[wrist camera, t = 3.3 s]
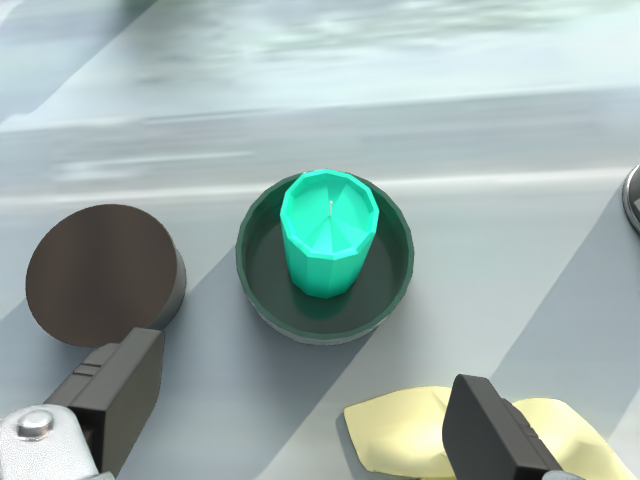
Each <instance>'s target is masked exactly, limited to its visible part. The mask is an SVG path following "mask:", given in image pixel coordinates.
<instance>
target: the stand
mask: <svg viewBox="0 0 640 480" xmlns="http://www.w3.org/2000/svg"><path fill="white" fill-rule="evenodd" d="M185 288H186V270H185V266H184V262H183V260H182V257H181V255H180V253H179V252H178V250H177V249H176V247H175V245H174V242H173V240H172V238H171V236H170V235H169V233H168V231H167V230H166V229H165V228H164V226H163V225H162V224H161V223H160V222H159V221H158V220H157V219H156V218H154V217H153V216H151V215H150V214H149V213H147V212H145V211H143V210H141V209H138V208H135V207H132V206H127V205H121V204H104V205H97V206H93V207H89V208H85V209H83V210H80V211H78V212H76V213H74V214H72V215H70V216H68V217H67V218H65V219H63V220H62V221H60V222H59V223H58V224H57V225H56V226H54V227H53V228H52V229H51V230H50V231H49V232H48V233H47V234H46V235H45V237H44V238H43V239H42V240H41V242H40V243H39V245H38V246H37V248H36V250H35V251H34V253H33V256H32V258H31V260H30V263H29V266H28V269H27V275H26V297H27V301H28V305H29V308H30V310H31V312H32V315H33V316H34V318H35V319H36V321H37V322H38V324H39V325H40V326H41V327H42V328H43V329H44V330H45V331H46V332H47V333H49V334H50V335H51V336H53V337H55V338H56V339H58V340H60V341H62V342H65V343H68V344H71V345H75V346H80V347H89V348H93V347H102V346H104V345H106V344H108V343H115V344H120V343H121V342H122V341H123V340H124V339H125V338H126V336H127V335H128V334H129V333H130V332H131V330H132V329H133V328H135V327H137V328H144V329H151V330H158V331H162V330H163V329H164V328H165V327H166V326H167V325H168V324H169V322H170V321H171V320H172V319H173V317H174V316H175V314H176V313H177V311H178V309H179V307H180V305H181V303H182V300H183V297H184V294H185Z"/></svg>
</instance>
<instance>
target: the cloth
mask: <svg viewBox="0 0 640 480" xmlns="http://www.w3.org/2000/svg"><path fill="white" fill-rule="evenodd" d="M451 390H452V388H446V387H418V388H410V389H405V390H400V391H395V392H392V393H389V394H386V395H383V396H380V397H377V398H374V399H371V400H368V401H365V402H362V403H359V404H356V405H353V406H350V407H347V408H345V409H344V416H345V420H346V423H347V426H348V430H349V433H350V437H351V439H352V442H353V444H354V447H355V449H356V452H357V454H358V457H359V460H360V462H361V463H362V464H363V466H364V467H365V468H366V469H367V470H368V471H371V472H374V471H377V472H382V473H387V474H391V475H398V476H404V477H414V478H420V479H419V480H457V478H456V476H455V474H454V471H453V469H452V466H451V464H450V462H449V459H448V457H447V454H446V452H445V449H444V447H443V443H442V424H443V420H444V416H445V413H446V409H447V405H448V402H449V398H450V394H451ZM512 405H513V406H515V407H516V408H517V409H518V410H520V411H521V413H522V414H523V415H524V417H525V418H526V419H527V421H528V422H529V423H530V427H532V428H533V429H534V430H535V432H536V433H537V434H538V436H539V439H541V440H542V441H543V443H544V444H545V445H546V447H547V448H548V449H549V451H550V452H551V454H552V455H553V456H554V458H555V459H556V460H557V462H558V463H559V465H560V466H561V467H562V469H563V470H564V471H565V472H569V473H572V474H575V475H577V476H580V477H582V478H584V479H586V480H637V479H636V478H635V476H634V475H633V474H632V473H631V472H630V471H629V470H628V469H627V468H626V466H625V465H624V464H623V463H622V462H621V460H620V459H619V458H618V457H617V455H616V454H615V453H614V452H613V450H612V449H611V448H610V447H609V445H608V444H607V443H606V442H605V441H604V440H603V438H602V437H601V436H600V435H599V434H598V433H597V432H596V431H595V430H594V429H593V428H592V427H591V425H589V424H588V423H587V422H586V421H585V420H584V419H583V418H582V417H581V416H579V415H578V414H577V413H576V412H575V411H574V410H573V409H571V408H570V407H569V406H568V405H567V404H566V403H564V402H562V401H560V400H555V399H546V398H530V399H524V400H520V401H516V402H515V403H513V404H512Z"/></svg>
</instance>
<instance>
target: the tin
mask: <svg viewBox="0 0 640 480" xmlns="http://www.w3.org/2000/svg"><path fill="white" fill-rule="evenodd" d="M316 171H318V170H316ZM308 172H313V171H305V172H302V173H299V174H296V175H293V176H290V177H287V178H284V179H282V180H281V181H279V182H278V183H276V184H275V185H273V186H271V187H270V188H268V189H267V190H265V191H264V192H263V194H262V195H261V196H260V197H259V198H258V199H257V200H256V201H255V202H254V203H253V204H252V205H251V207H250V208H249V210H248V212H247V214H246V216H245V218H244V220H243V222H242V223H241V226H240V230H239V234H238V239H237V243H236V263H237V271H238V274H239V277H240V280H241V283H242V286H243V289H244V291H245V293H246V295H247V297H248V299H249V300H250V302H251V304H252V305H253V306H254V308H255V309H256V311H257V312H258V314H259V315H260V316H261V318H262V319H263V320H264V321H265V322H266V323H268V324H269V325H270V326H271V327H272V328H274V329H275V330H276V331H277V332H279V333H280V334H282V335H285V336H286V337H288V338H290V339H293V340H296V341H298V342H301V343H306V344H311V345H320V346H326V345H337V344H344V343H347V342H350V341H353V340H355V339H357V338H360V337H362V336H365V335H366V334H368V333H369V332H370V331H372V330H373V329H374V328H376V327H377V326H378V325H379V324H381V323H382V322H383V321H384V320H385V319H386V318H387V317H388V316H389V315H390V314H391V312H392V311H393V310H394V308H395V307H396V306H397V304H398V303H399V302H400V300H401V299H402V298H403V296H404V295H405V292H406V290H407V287H408V285H409V282H410V279H411V277H412V273H413V263H414V247H413V241H412V236H411V231H410V228H409V226H408V224H407V222H406V220H405V218H404V216H403V214H402V212H401V210H400V209H399V208H398V206H397V205H396V204H395V203H394V202H393V201H392V199H391V198H390V197H389V196H388V195H387V194H386V193H385V192H384V191H382V190H381V189H379V188H378V187H377V186H375V185H374V184H372V183H371V182H369V181H368V180H365V179H363V178H360V177H358V176H355V175H353V174H351V175H352V176H353V177H355V178H356V179H357V180H359V181H360V182H362V183H363V184H364V185H366V186H367V187H369V188H370V190H371V192H372V194H373V197H374V199H375V201H376V204H377V206H378V209H379V215H378V221H377V228H376V233H375V236H374V238H373V241H372V243H371V246H370V248H369V251H368V253H367V256H366V258H365V261H364V263H363V265H362V268H361V270H360V273H359V275H358V278H357V279H356V281H355V282H354V283H353V284H352V285H351V286H350V287H349V289H348V290H347V291H346V292H345V293H343V294H340V295H337V296H334V297H331V298H327V299H324V298H320V297H315V296H310V295H307V294H305V293H304V292H303V291H302V290H301V289H300V288H299V287H297V286H296V285H295V284H294V283H293V282H292V279H291V276H290V273H289V270H288V267H287V262H286V255H285V248H284V241H283V233H282V226H281V219H280V212H281V208H282V204H283V200H284V196H285V192H286V191H287V190H288V189H289V188H290V187H291V185H292V184H293V183H294V182H295V181H296V180H297V179H298V178H299V177H300V176H301V175H302V174H303V173H308ZM338 172H340V171H338ZM342 173H346V174H350V173H347V172H342Z"/></svg>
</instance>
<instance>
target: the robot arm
mask: <svg viewBox="0 0 640 480" xmlns="http://www.w3.org/2000/svg"><path fill="white" fill-rule="evenodd" d="M622 195H623V204H624V208H625V211H626V214H627V216H628V218H629V220H630V222H631V223H632V225H633V226H634V228H635V229H636V230H637V231H638V232H639V233H640V164H639V165H638V166H636V167H635V168H634V169H633V170H632V171H631V172H630V173H629V175H628V176H627V178H626V180H625V183H624V186H623V193H622ZM164 341H165V335H164V332H163V331H158V330H151V329H144V328H137V327H135V328H133V329H132V330H131V332H130V333H129V334H128V335H127V336H126V338H125V339H124V340H123V341H122V342H121V343H120V344H115V343H108V344H106V345H104V346H102V347H100V348H98V349H96V350H94V351H92V352H91V353H90V354H89V355H88V356H87V357H86V358H85V360H84V361H83V362H82V363H81V365H79V366H78V367H77V368H76V369H75V370H74V371H73V373H72V375H69V377H68V378H67V379H66V380H65V381H64V382H63V383H62V384H61V385H60V386H59V387H58V388H57V389H56V390H55V391H54V392H53V394H52V395H51V396H50V397H49V398H48V399H47V400H46V401H45V402H44V403H43V404H42V405H34V406H29V407H25V408H22V409H19V410H16V411H14V412H12V413H10V414H8V415H7V416H5V417H4V418H2V419H1V420H0V480H115V479H116V477H117V475H118V473H119V472H120V470H121V468H122V466H123V464H124V462H125V461H126V459H127V457H128V455H129V453H130V451H131V449H132V448H133V446H134V444H135V442H136V440H137V438H138V436H139V435H140V433H141V431H142V429H143V427H144V425H145V423H146V422H147V420H148V418H149V416H150V414H151V412H152V411H153V409H154V406H155V404H156V401H157V398H158V394H159V389H160V383H161V373H162V362H163V352H164ZM442 443H443V447H444V449H445V452H446V454H447V457H448V459H449V462H450V464H451V466H452V469H453V471H454V474H455V476H456V478H457V480H586V479H584V478H582V477H580V476H577V475H575V474H572V473H569V472H565V471H564V470H563V469H562V467H561V466H560V465H559V463H558V462H557V460H556V459H555V458H554V456H553V455H552V454H551V452H550V451H549V449H548V448H547V447H546V445H545V444H544V443H543V441H542V440H541V439H539V436H538V434H537V433H536V432H535V430H534V429H533V428H532V427H530V423H529V422H528V421H527V419H526V418H525V417H524V415H523V414H522V413H521V411H520V410H518V409H517V408H516V407H515V406H513V405H512V404H511V403H510V402H508V401H507V400H506V399H503V398H501V397H500V396H499V394H498V393H497V391H496V390H495V389H494V387H493V386H492V384H491V383H490V381H489V380H488V379H487V378H483V377H476V376H469V375H462V374H459V375H457V376H456V378H455V380H454V383H453V387H452V390H451V394H450V398H449V402H448V405H447V409H446V413H445V416H444V420H443V424H442Z"/></svg>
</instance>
